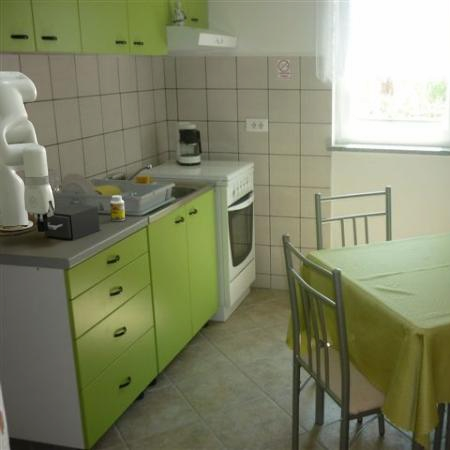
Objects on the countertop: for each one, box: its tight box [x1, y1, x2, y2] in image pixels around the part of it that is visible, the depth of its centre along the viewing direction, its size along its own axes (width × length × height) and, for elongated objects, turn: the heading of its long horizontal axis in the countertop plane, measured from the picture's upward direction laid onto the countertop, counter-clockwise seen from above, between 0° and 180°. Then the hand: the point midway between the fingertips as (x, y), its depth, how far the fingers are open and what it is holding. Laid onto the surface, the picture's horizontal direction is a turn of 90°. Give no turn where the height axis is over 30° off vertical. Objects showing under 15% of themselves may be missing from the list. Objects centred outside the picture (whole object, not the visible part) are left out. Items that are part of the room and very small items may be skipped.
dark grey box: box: [46, 203, 100, 241], centre depth 224 cm, size 15×13×10 cm
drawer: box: [44, 215, 72, 239], centre depth 220 cm, size 18×11×8 cm, turn 159°
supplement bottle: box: [109, 194, 126, 222], centre depth 243 cm, size 6×6×10 cm
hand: (43, 231), depth 210 cm, fingers closed
